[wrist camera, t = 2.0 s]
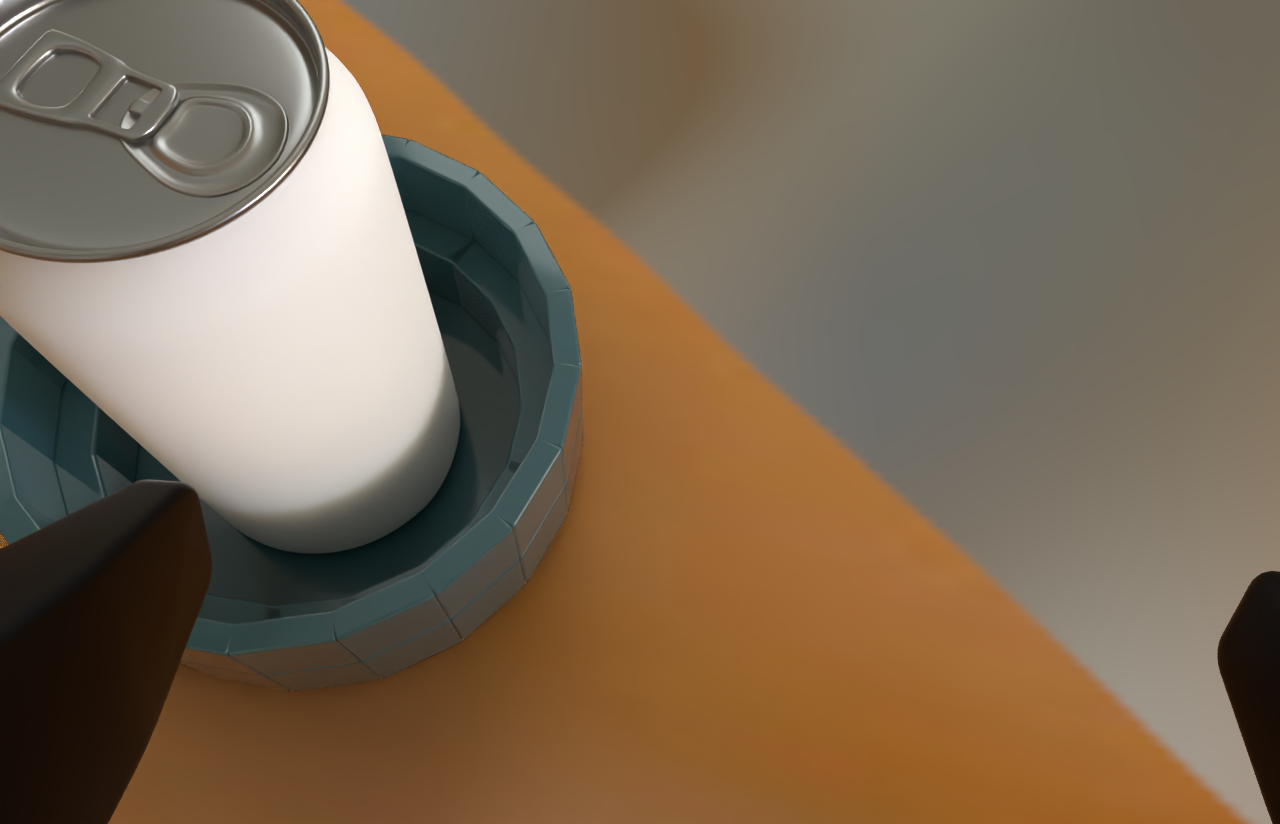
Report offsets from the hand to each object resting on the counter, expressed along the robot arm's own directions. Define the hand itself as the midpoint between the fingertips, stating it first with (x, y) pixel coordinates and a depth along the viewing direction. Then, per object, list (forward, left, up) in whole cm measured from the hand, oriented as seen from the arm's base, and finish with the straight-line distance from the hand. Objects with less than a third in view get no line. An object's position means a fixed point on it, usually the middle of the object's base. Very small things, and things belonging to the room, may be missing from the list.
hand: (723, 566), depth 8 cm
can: (0, +11, -15) cm, 18 cm away
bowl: (0, +11, -15) cm, 18 cm away
